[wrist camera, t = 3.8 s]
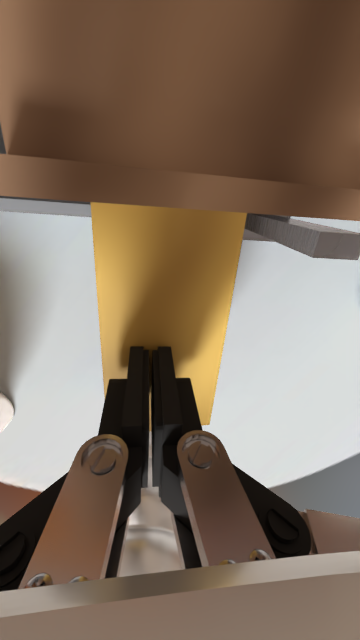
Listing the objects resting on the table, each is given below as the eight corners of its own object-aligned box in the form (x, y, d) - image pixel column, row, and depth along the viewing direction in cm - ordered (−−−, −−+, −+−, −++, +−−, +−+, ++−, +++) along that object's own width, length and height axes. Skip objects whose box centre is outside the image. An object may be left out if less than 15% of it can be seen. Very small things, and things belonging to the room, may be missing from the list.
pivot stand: (337, -8, 15) (702, -392, 5) (278, 240, 21) (389, 285, 11) (238, -27, 14) (438, -521, 4) (207, 235, 21) (260, 279, 11)
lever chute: (481, 23, 13) (769, -107, 7) (343, 347, 21) (424, 406, 16) (4, -123, 8) (-250, -801, 3) (71, 363, 17) (46, 453, 11)
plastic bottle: (144, 353, 25) (127, 755, 7) (185, 392, 28) (246, 751, 10) (96, 387, 26) (-18, 800, 9) (140, 422, 29) (123, 785, 11)
